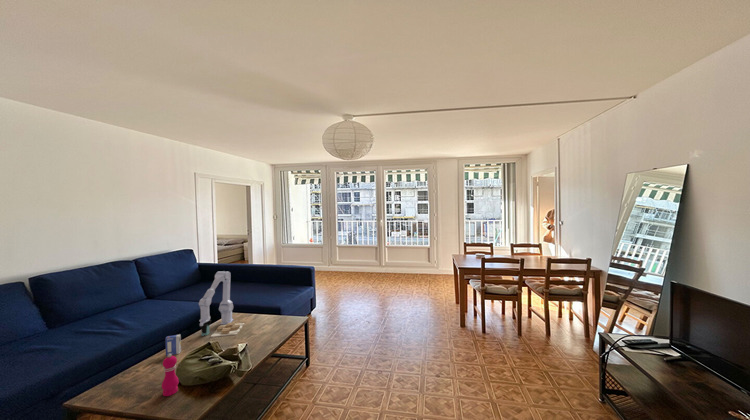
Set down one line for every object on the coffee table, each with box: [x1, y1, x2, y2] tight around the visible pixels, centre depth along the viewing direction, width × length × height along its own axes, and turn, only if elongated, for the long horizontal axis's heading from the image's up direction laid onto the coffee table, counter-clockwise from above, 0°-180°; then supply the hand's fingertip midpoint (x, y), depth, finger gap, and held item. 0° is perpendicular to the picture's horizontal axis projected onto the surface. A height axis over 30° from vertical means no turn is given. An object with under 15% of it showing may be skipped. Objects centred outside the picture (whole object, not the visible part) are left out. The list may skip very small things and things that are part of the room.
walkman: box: [164, 333, 182, 357], centre depth 183 cm, size 8×3×12 cm, turn 110°
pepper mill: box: [161, 354, 180, 397], centre depth 144 cm, size 7×7×20 cm
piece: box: [201, 325, 211, 337], centre depth 211 cm, size 4×4×6 cm
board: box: [210, 321, 245, 338], centre depth 218 cm, size 20×18×3 cm
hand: (205, 331), depth 211 cm, fingers closed on piece, 4 cm apart
